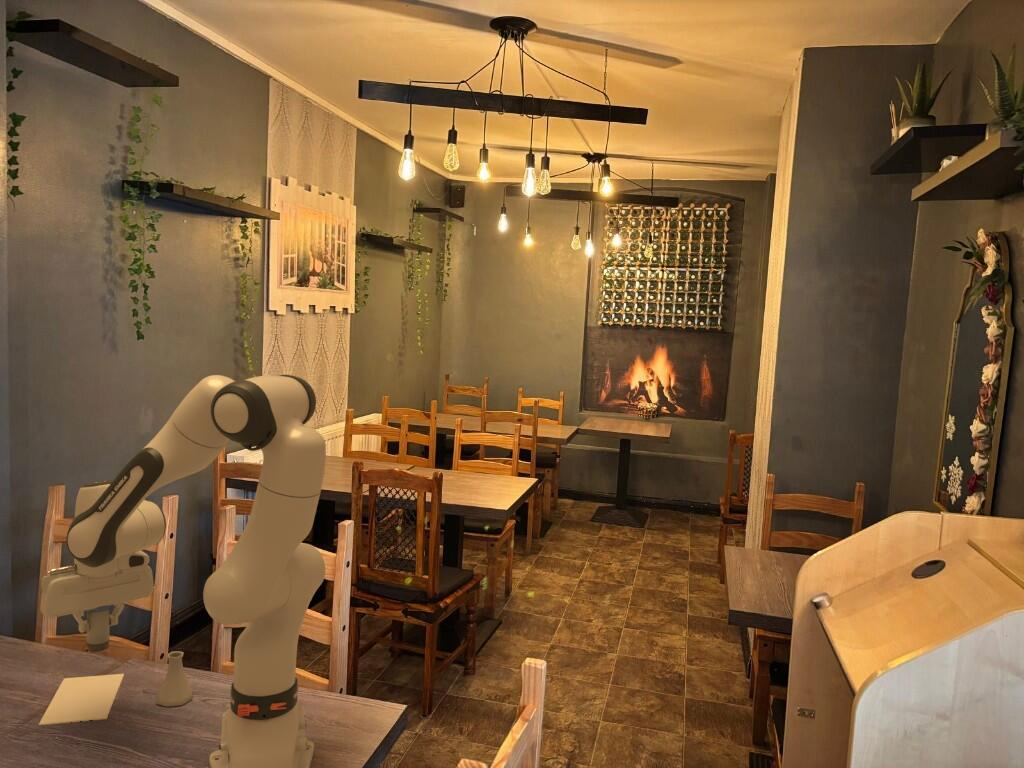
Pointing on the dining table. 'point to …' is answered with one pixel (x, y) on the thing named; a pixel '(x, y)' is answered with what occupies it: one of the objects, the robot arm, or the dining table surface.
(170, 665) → the flask
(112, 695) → the paper
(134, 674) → the dining table surface
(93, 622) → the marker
